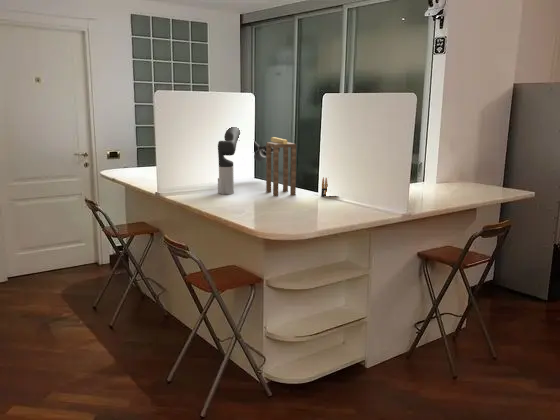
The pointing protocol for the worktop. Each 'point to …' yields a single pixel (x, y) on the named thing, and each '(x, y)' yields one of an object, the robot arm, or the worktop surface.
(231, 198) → the worktop surface
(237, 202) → the worktop surface
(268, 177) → the walnut stand
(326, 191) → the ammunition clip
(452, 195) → the worktop surface
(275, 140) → the brass bar
